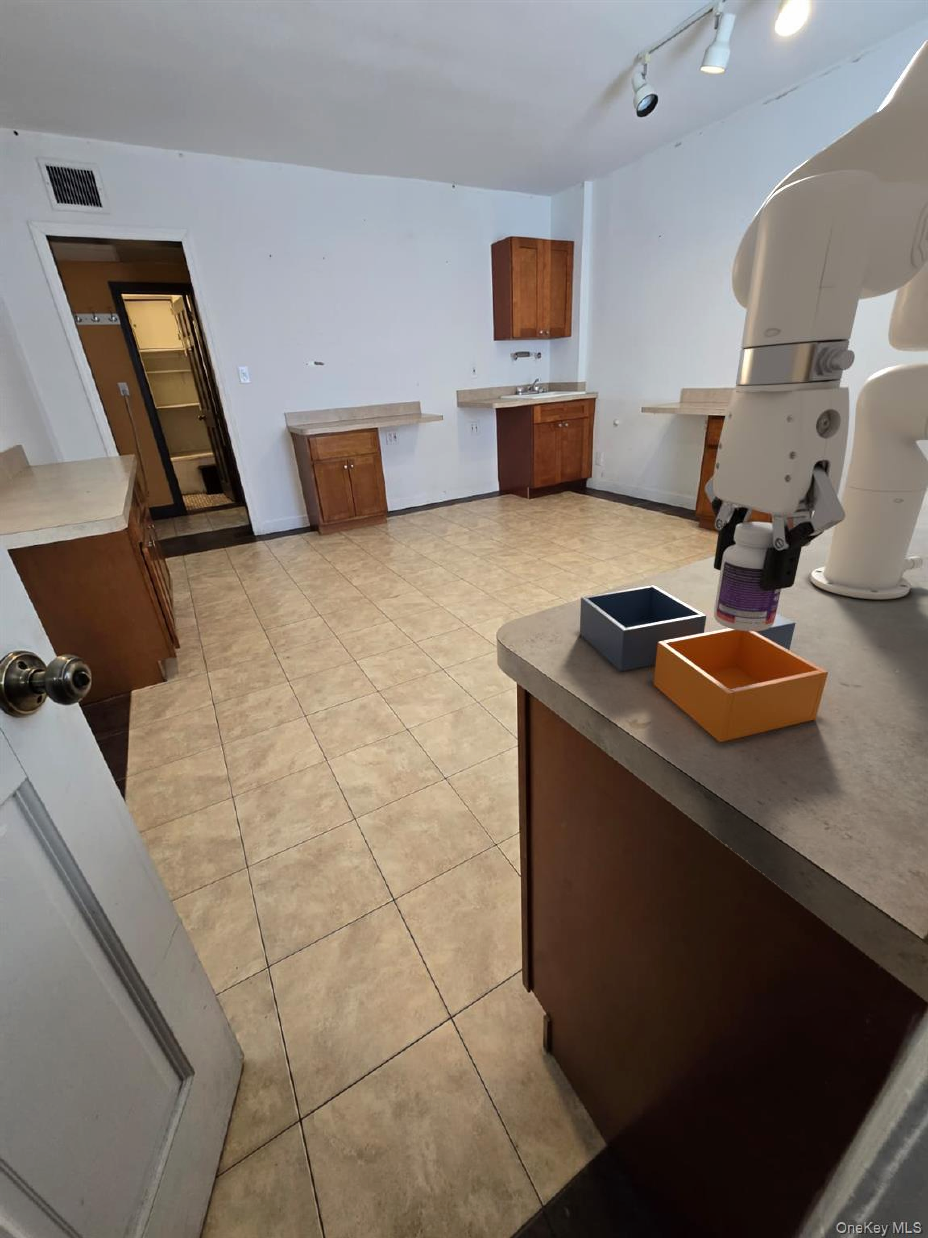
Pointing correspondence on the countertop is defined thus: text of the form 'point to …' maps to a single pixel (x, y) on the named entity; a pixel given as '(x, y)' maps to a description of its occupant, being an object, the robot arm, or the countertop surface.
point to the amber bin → (738, 682)
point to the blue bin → (636, 624)
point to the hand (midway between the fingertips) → (751, 575)
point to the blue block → (780, 631)
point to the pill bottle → (746, 581)
